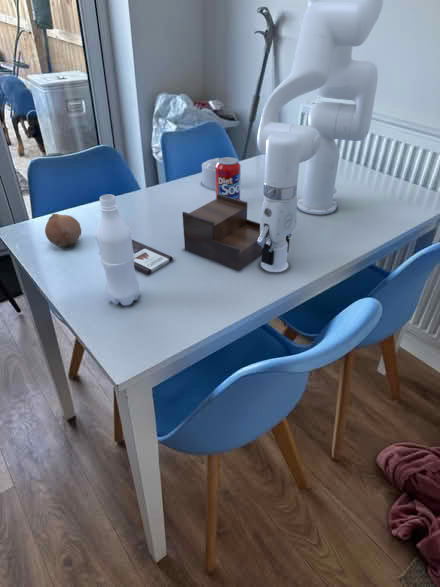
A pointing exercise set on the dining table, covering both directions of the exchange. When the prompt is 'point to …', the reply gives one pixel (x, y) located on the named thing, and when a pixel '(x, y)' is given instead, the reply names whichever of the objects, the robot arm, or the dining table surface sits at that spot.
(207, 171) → the lumpy-topped squat cylinder
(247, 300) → the dining table surface
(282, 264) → the downlight
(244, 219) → the spice shelf
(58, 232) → the brown coconut
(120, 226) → the water bottle
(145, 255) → the chocolate bar
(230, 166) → the soda can
